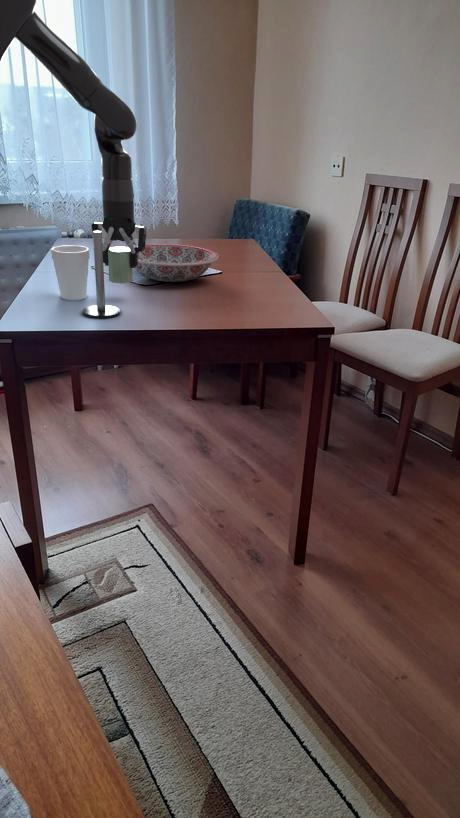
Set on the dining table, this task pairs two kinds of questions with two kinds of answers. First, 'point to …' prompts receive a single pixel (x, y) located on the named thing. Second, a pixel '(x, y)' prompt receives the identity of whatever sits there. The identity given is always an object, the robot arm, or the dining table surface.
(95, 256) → the towel holder
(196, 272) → the ceramic bowl
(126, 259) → the green cup
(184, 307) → the dining table surface
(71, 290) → the foam cup
